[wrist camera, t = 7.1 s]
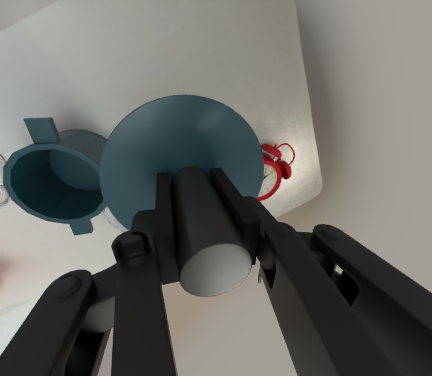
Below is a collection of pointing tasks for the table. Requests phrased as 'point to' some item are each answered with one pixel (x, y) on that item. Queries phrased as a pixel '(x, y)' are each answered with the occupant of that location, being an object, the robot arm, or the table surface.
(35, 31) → the table surface
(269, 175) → the alarm clock
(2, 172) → the mug
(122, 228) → the spoon
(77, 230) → the enamel pot
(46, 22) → the table surface
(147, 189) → the enamel lid
